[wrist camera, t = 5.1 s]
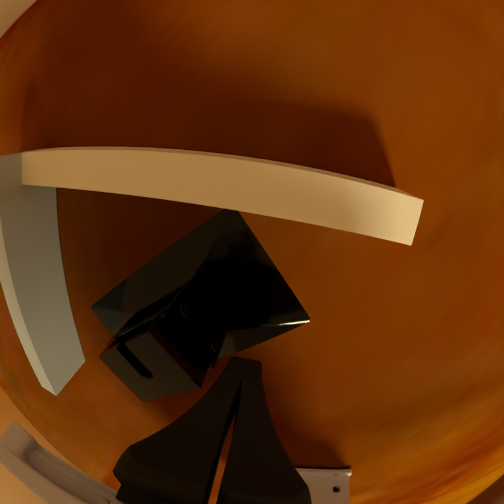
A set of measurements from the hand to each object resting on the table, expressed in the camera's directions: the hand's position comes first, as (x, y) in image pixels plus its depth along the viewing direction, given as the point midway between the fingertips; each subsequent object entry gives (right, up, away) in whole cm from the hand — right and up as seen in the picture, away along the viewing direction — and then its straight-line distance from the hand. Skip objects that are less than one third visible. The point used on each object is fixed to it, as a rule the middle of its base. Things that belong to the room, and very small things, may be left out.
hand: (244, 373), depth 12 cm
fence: (-4, +2, +2) cm, 5 cm away
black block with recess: (-3, +3, +2) cm, 4 cm away
